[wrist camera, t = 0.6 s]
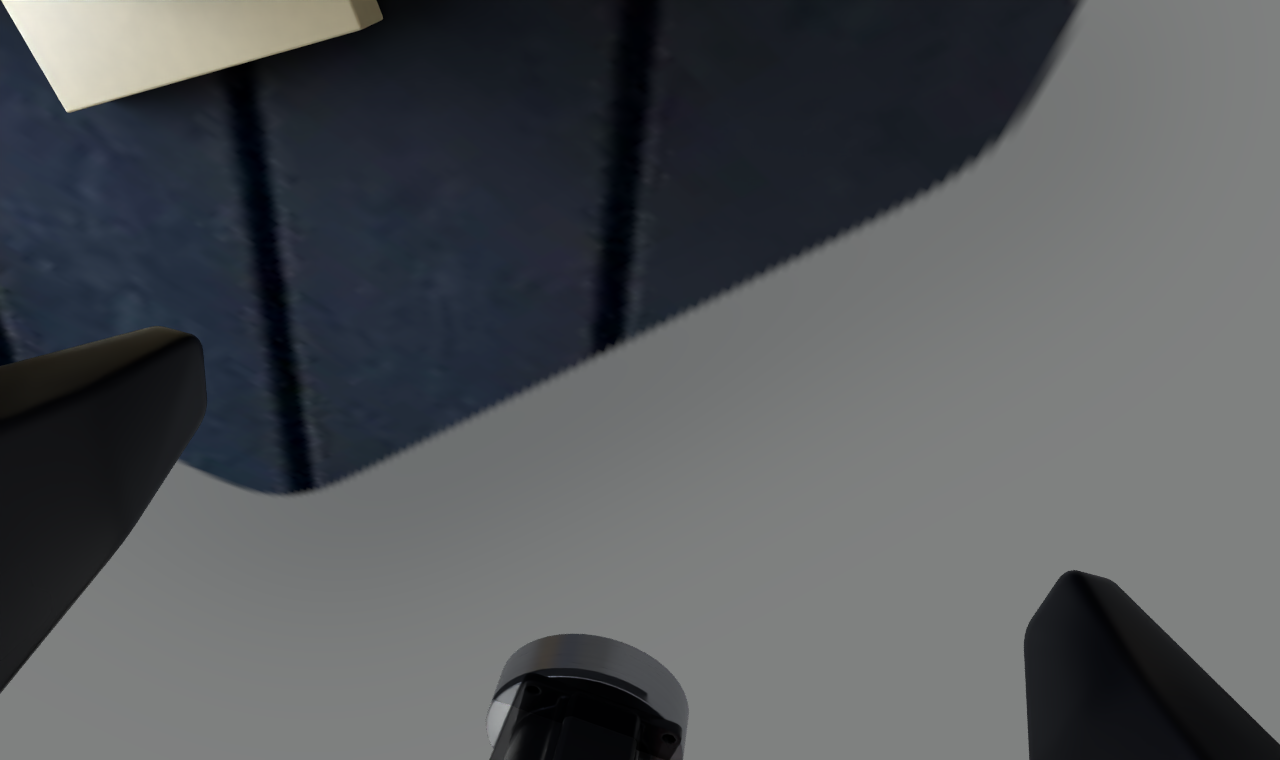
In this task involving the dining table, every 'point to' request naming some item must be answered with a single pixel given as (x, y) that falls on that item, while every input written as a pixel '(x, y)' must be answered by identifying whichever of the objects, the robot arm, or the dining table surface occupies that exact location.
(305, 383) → the dining table surface
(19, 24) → the bracket
